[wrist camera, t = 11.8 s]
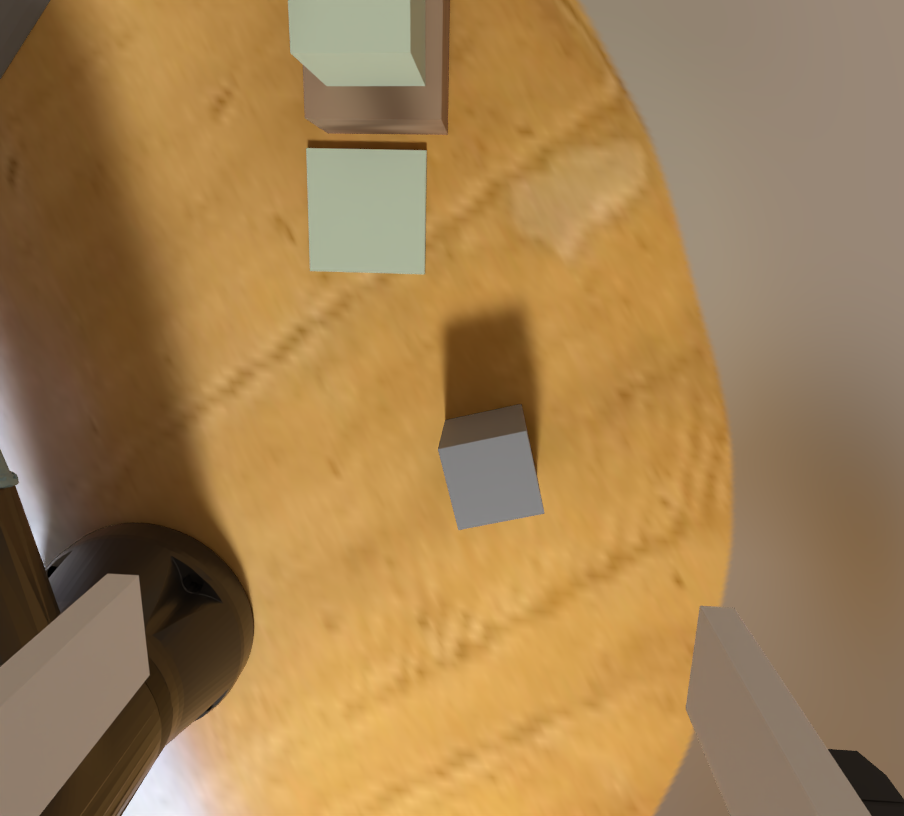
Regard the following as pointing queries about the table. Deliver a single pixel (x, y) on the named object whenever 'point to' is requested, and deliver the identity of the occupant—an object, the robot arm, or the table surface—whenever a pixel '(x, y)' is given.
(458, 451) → the gray block
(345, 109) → the walnut base
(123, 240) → the table surface
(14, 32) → the slim gray ramp strip
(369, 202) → the tile
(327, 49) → the sage block
